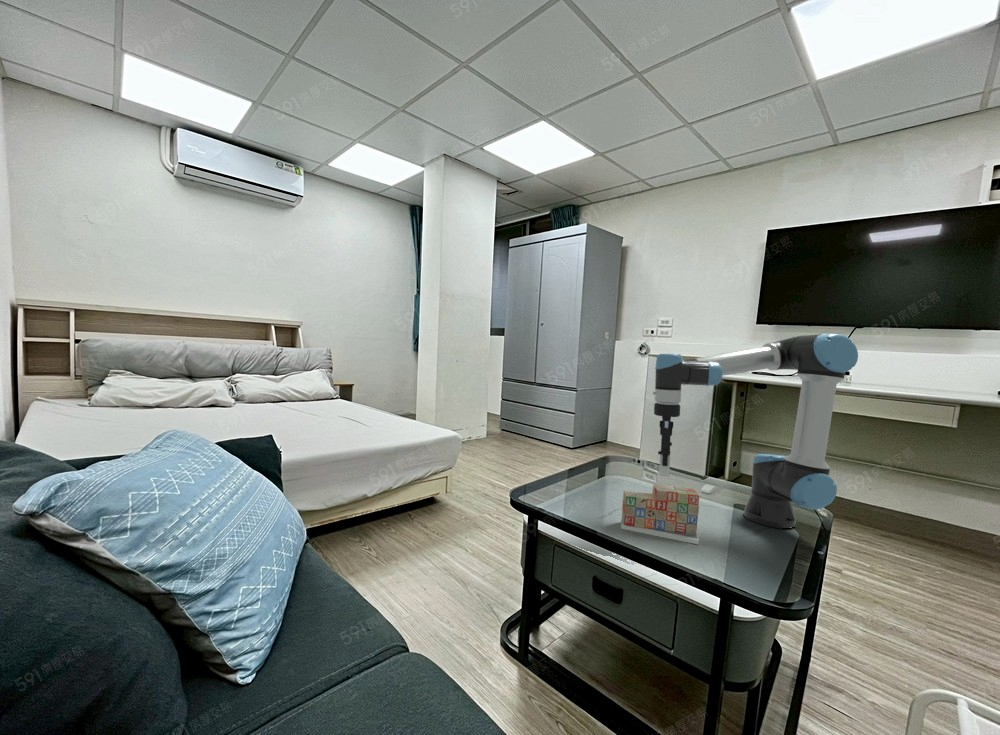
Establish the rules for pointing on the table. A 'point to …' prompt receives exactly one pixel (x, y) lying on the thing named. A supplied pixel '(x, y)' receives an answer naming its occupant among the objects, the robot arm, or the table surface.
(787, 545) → the table surface
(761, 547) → the table surface
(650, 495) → the stack of blocks
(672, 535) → the board
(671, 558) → the table surface
